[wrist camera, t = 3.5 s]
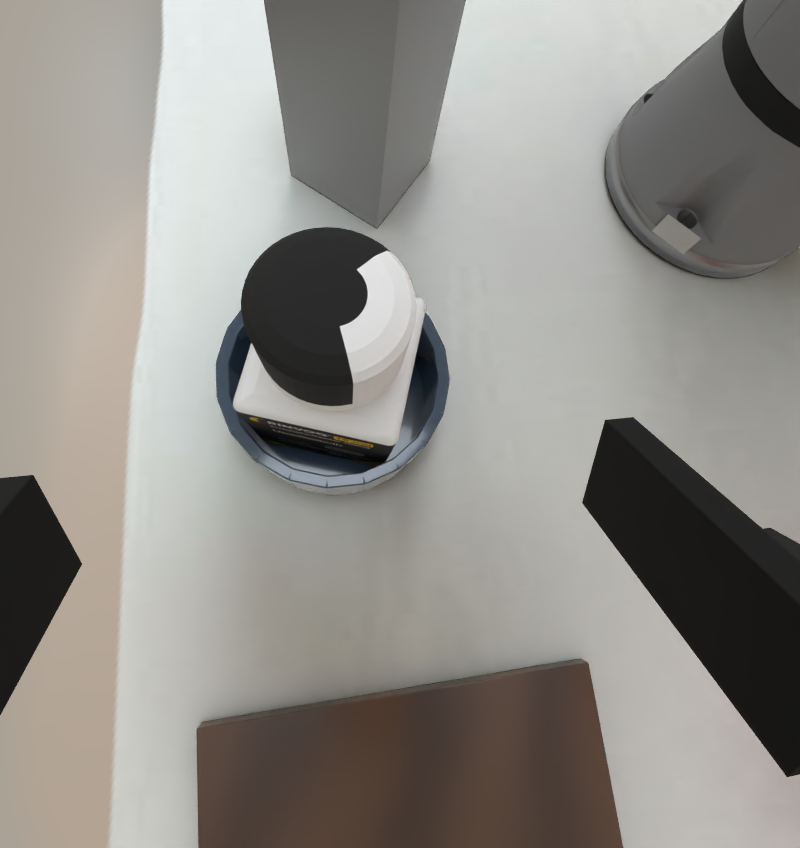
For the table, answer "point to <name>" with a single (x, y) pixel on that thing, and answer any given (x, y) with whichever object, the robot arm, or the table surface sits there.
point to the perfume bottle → (361, 93)
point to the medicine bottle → (329, 345)
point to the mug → (329, 470)
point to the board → (416, 768)
